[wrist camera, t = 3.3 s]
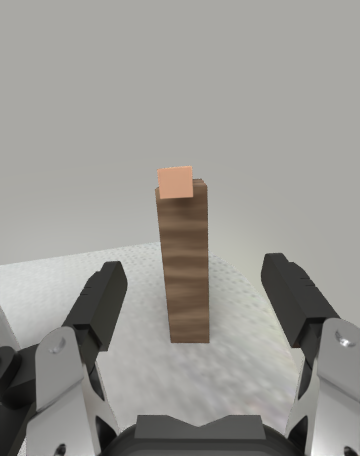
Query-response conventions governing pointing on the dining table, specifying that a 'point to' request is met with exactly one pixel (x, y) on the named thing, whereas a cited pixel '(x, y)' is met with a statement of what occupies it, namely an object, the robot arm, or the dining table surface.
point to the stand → (186, 263)
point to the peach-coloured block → (175, 182)
